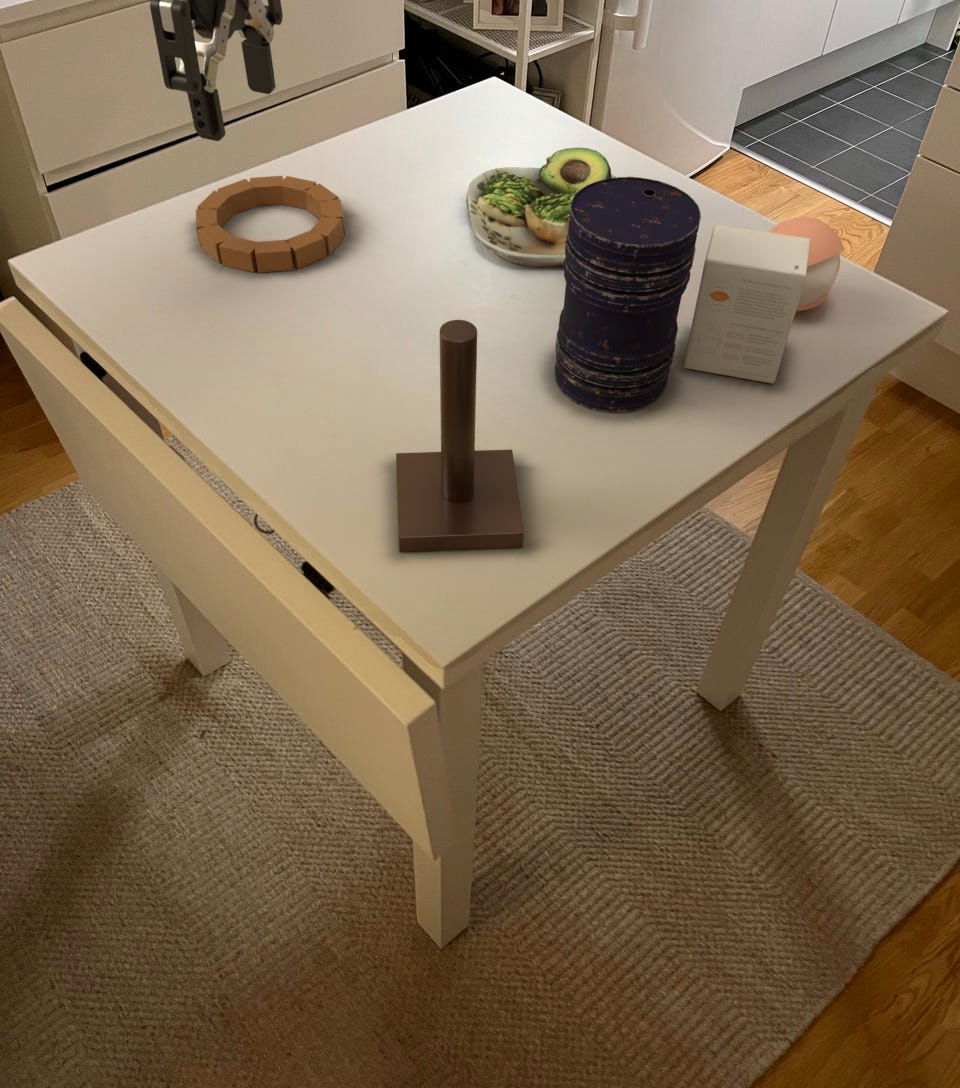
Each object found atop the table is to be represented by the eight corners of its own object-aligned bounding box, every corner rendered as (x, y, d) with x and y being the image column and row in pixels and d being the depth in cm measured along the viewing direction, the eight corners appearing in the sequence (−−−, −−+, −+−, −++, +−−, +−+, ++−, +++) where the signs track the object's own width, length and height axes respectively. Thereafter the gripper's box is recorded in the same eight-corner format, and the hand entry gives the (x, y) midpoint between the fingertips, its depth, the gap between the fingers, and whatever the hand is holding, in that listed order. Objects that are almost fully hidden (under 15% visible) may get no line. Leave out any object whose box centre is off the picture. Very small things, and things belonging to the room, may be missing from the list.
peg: (399, 552, 72) (388, 377, 60) (396, 467, 78) (386, 291, 65) (522, 547, 73) (536, 373, 60) (511, 463, 78) (522, 287, 66)
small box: (780, 348, 88) (814, 237, 80) (774, 386, 85) (809, 275, 76) (690, 331, 89) (714, 221, 81) (680, 369, 86) (705, 257, 78)
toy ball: (783, 338, 89) (808, 257, 83) (725, 295, 93) (744, 215, 87) (846, 310, 92) (875, 230, 86) (787, 270, 96) (810, 190, 89)
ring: (200, 277, 93) (196, 257, 91) (199, 200, 101) (195, 181, 100) (350, 265, 95) (348, 246, 93) (337, 190, 103) (335, 171, 101)
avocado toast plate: (661, 285, 94) (669, 240, 90) (472, 287, 93) (472, 241, 89) (632, 181, 105) (638, 137, 102) (464, 182, 105) (464, 137, 101)
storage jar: (643, 428, 81) (675, 260, 69) (534, 391, 84) (547, 224, 72) (684, 361, 87) (720, 196, 75) (580, 329, 89) (599, 164, 77)
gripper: (200, -166, 73) (239, 69, 86) (89, -105, 64) (150, 145, 77) (292, -153, 71) (318, 84, 84) (191, -89, 63) (236, 163, 76)
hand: (237, 113), depth 81 cm, fingers open, 8 cm apart
